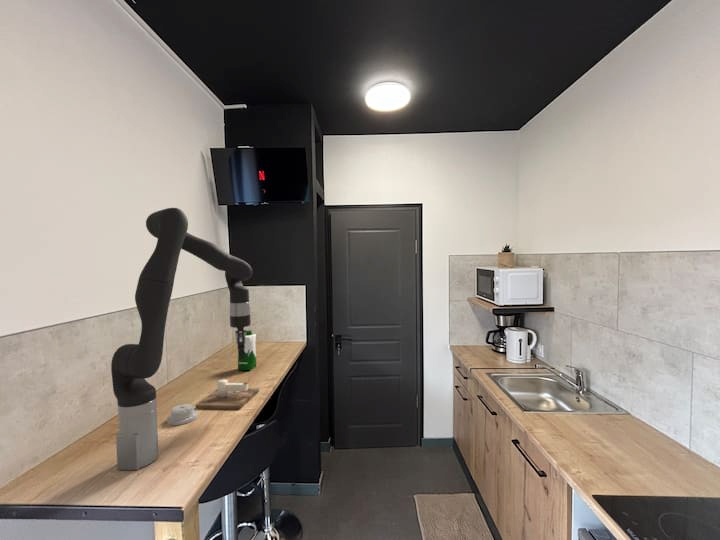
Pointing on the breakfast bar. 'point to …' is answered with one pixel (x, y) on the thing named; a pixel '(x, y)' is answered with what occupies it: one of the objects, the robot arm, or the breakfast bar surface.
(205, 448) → the breakfast bar surface
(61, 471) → the breakfast bar surface
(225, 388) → the peg
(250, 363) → the milk carton
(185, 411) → the mechanical component
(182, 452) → the breakfast bar surface
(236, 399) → the board
